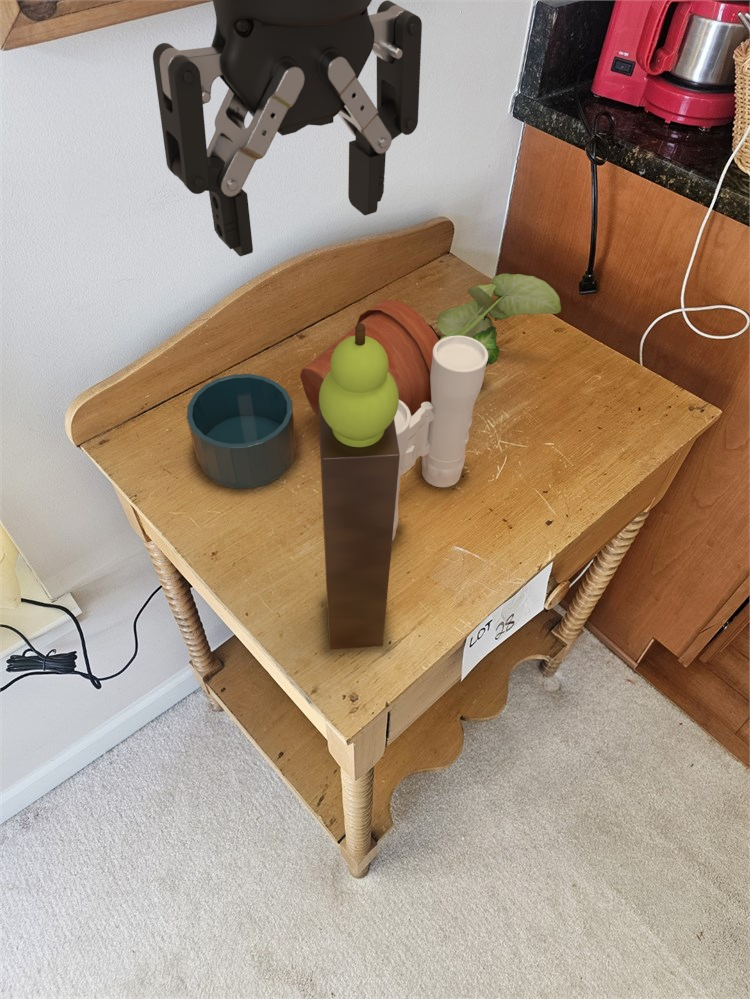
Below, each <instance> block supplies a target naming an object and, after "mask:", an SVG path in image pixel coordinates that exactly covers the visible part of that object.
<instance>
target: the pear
mask: <svg viewBox="0 0 750 999" xmlns="http://www.w3.org/2000/svg"><path fill="white" fill-rule="evenodd" d="M355 326H356V327H355ZM355 326H354V327H355V336H351V337H348V338H346V339H345V340H343V341H342V342H340V343H339V344H338V346H337V347H336V348H335V350H334V352H333V354H332V357H331V371H330V372H329V373H328V374H327V375H326V377H325V378H324V380H323V383H322V385H321V388H320V393H319V404H320V409H321V412H322V415H323V417H324V419H325V421H326V422H327V423H328V425H329V426H330V427H331V428H332V431H333V434H334V436H335V437H336V438H337V439H338V440H339V441H340V442H341V443H343V444H345V445H348V446H352V447H366V446H370V445H372V444H374V443H376V442H377V441H379V440H380V439H381V437H382V436H383V434H384V431H385V429H386V428H387V427H388V426H389V425H390V423H391V422H392V421H393V419H394V417H395V415H396V412H397V409H398V403H399V395H398V389H397V386H396V383H395V381H394V379H393V377H392V376H391V374H390V373H389V372H388V367H389V364H388V357H387V354H386V352H385V350H384V348H383V347H382V346H381V345H380V344H379V343H378V342H377V341H376V340H374V339H373V338H370V337H367V336H365V326H364V325H363V324H361V323H359V324H357V323H356V325H355Z"/></svg>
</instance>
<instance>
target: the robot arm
mask: <svg viewBox="0 0 750 999" xmlns="http://www.w3.org/2000/svg"><path fill="white" fill-rule="evenodd" d="M372 1H373V0H212V2H213V8H214V13H215V31H214V36H213V39H212V43H211V46H206V47H198V48H190V49H177V48H176V47H174V46H173V45H172V44H170V43H169V42H168V43H167V42H162V43H159V44H157V45H156V46H155V48H154V50H153V53H152V63H153V70H154V78H155V86H156V93H157V94H156V95H157V101H158V107H159V116H160V123H161V132H162V138H163V146H164V153H165V154H164V155H165V161H166V166H167V169H168V170H169V172H171V173H172V174H173V175H174V176H176V177H177V178H178V179H179V180H180V181H181V182H182V183H183V185H184V186H185V187H186V188H187V190H188V191H190V192H191V193H192V194H194V195H201V194H203V193H205V192H208V195H209V201H210V208H211V213H212V214H211V216H212V220H213V230H214V231H215V233H216V235H217V236H218V238H219V239H220V240H221V241H222V242H223V243H224V244H225V245H226V247H227V248H228V249H229V250H233V251H234V252H235V254H237V255H238V256H239V257H243V256H247V255H250V254H252V253H253V252H254V246H253V237H252V236H253V235H252V226H251V217H250V216H251V215H250V208H249V198H248V193H247V192H246V191H245V190H244V189H243V187H244V185H245V183H246V181H247V179H248V177H249V175H250V173H251V171H252V169H253V167H254V165H255V163H256V161H258V160H261V159H263V158H264V157H265V156H266V154H267V152H268V151H269V149H270V147H271V145H272V142H273V141H274V138H275V137H276V134H277V133H278V134H280V135H281V136H282V137H284V136H287V135H291V134H294V133H297V132H298V131H300V130H301V129H304V128H305V127H307V126H319V127H320V126H325V125H329V124H333V123H334V117H336V116H337V115H338V116H339V117H340V119H341V120H342V122H343V123H344V124H345V126H346V127H347V128H348V130H349V131H350V132H351V134H352V136H354V137H355V138H354V139H355V140H351V141H348V186H347V188H348V189H347V191H348V192H347V194H348V201H349V203H350V205H351V206H352V207H353V208H355V209H356V210H357V211H358V212H360V213H361V214H362V215H363V216H368V215H371V214H374V213H377V211H378V206H379V205H378V203H379V202H381V200H382V198H383V195H384V192H385V191H384V190H385V175H386V174H385V172H386V156H387V152H388V150H389V149H390V147H391V146H392V141H393V140H395V139H396V138H397V137H399V136H400V135H401V134H403V135H405V136H409V135H411V134H413V133H414V132H415V131H416V129H417V127H418V123H419V109H420V108H419V106H420V104H419V102H420V84H421V83H420V82H421V80H420V79H421V59H422V57H421V56H422V37H423V36H422V34H423V33H422V31H423V22H422V18H420V16H418V15H417V14H416V13H415V14H414V13H413V12H411V11H410V10H407V9H406V8H404V7H402V6H400V5H399V4H396V3H395V2H393V1H391V0H384V1H382V2H381V3H380V4H379V6H378V8H377V10H376V13H373V14H369V9H368V7H369V6H370V5H371V3H372ZM372 52H373V54H374V55H375V56H376V106H375V104H374V103H373V101H372V99H371V98H370V96H369V94H368V93H367V92H366V90H365V88H364V87H363V85H361V82H360V80H359V77H360V75H361V73H362V71H363V69H364V67H365V65H366V64H367V61H368V59H369V58H370V55H371V53H372ZM217 78H220V80H222V81H223V83H224V84H225V85H226V86H227V88H228V89H227V91H226V94H225V96H224V98H223V100H222V103H221V105H220V107H219V109H218V111H217V114H216V116H215V119H214V127H215V131H214V134H213V135H212V138H211V140H210V142H209V144H208V146H207V136H206V125H205V114H204V113H205V112H204V105H205V104H208V103H209V102H210V101H211V99H212V87H213V84H214V81H215V80H216V79H217ZM248 113H249V114H250V115H251V117H252V119H251V122H250V123H249V125H248V127H246V126H245V119H246V117H247V115H248Z"/></svg>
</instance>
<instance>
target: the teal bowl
mask: <svg viewBox="0 0 750 999" xmlns="http://www.w3.org/2000/svg"><path fill="white" fill-rule="evenodd" d="M293 406H294V405H293V400H292V398H291V396H290V394H289V393H288V390H287V389H285V388H284V387H283V386H282V385H281V384H279V382H277V381H275V380H273V379H271V378H269V377H266V376H263V375H259V374H253V373H237V374H235V373H234V374H229V375H226V376H221V377H218V378H215V379H214V380H212V381H210V382H208V383H206V384H204V385H203V386H201V388H200V389H198V390H197V391H196V392H195V393H193V396H192V397H191V399H190V401H189V403H188V404H187V409H186V410H187V412H186V420H187V424H188V428H189V432H190V436H191V440H192V445H193V448H194V451H195V452H194V453H195V455H196V456H195V457H196V458H197V462H198V465H199V467H200V469H201V471H202V472H203V473H204V475H205V476H206V477H207V478H208V479H209V480H211V481H212V482H214V483H216V484H218V485H221V486H223V487H226V488H231V489H239V490H240V489H242V490H243V489H245V490H246V489H255V488H259V487H262V486H266V485H268V484H270V483H273V482H275V481H277V480H278V479H279V478H281V477H282V476H283V475H284V474H285V473H286V472H288V470H290V468H291V466H292V465H293V463H294V460H295V456H296V453H297V447H296V446H297V445H296V431H295V419H294V408H293Z"/></svg>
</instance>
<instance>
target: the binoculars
mask: <svg viewBox="0 0 750 999" xmlns="http://www.w3.org/2000/svg"><path fill="white" fill-rule="evenodd" d="M487 361H488V352H487V349H486V348H485V346H484V345H483V344H482V343H480V342H479V341H477V340H475V339H473V338H470V337H467V336H458V335H457V336H449V337H446V338H443V339H441V340H440V341H438V342H437V343H436V344H435V346H434V348H433V358H432V366H431V374H430V384H431V403H429V402H423V403H422V404H421V408H420V409H419V410H418V411H417V412H416V413H415V414H414V415H413V414H411V413H410V410H409V408H408V407H407V406H406V404H405V403H403V402H402V401H401V400H399V403H398V409H397V412H396V415H395V417H394V421H395V427H396V434H397V440H398V447H399V453H400V459H399V470H398V482H397V493H396V504H395V515H394V526H393V538H392V542H393V541H394V540H395V539H396V535H397V529H398V526H399V498H400V497H399V496H400V486H401V485H400V484H401V477H402V476H403V475H405V474H406V473H407V472H408V471H409V470H411V469H412V467H413V466H415V465H416V462H417V460H418V459H419V457H421V474H422V478H423V479H424V480H425V482H426V483H428V484H429V485H432V486H433V487H438V488H449V487H452V486H454V485H456V484H457V483H458V482H459V481H460V479H461V476H462V473H463V472H462V471H463V468H464V466H465V462H466V450H467V444H468V442H469V440H470V432H469V431H470V428H471V426H472V424H473V412H474V407H475V404H476V401H477V399H478V397H479V394H480V392H481V389H482V387H483V383H484V378H485V372H486V369H487V366H486V363H487Z"/></svg>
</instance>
